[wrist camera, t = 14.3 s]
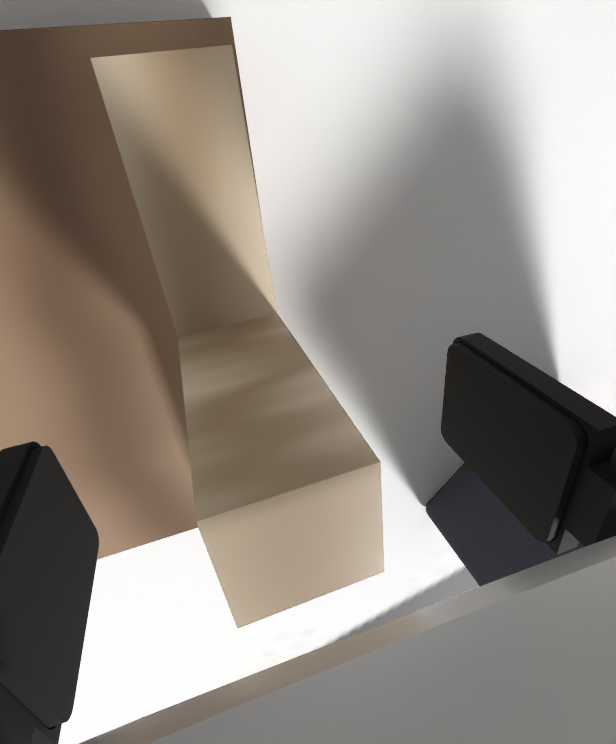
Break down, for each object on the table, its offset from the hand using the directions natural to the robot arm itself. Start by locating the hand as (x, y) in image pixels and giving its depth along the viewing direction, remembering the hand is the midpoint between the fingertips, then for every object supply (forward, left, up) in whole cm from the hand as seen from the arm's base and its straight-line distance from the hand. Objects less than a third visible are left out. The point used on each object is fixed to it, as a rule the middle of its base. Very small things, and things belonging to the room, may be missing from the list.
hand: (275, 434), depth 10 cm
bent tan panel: (0, 0, -6) cm, 6 cm away
